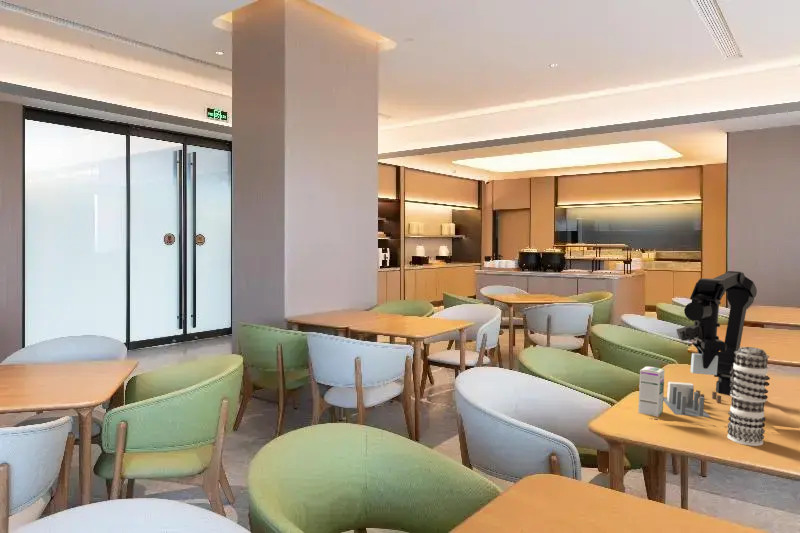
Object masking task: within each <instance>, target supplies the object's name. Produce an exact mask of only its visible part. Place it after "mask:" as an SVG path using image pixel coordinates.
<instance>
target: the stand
mask: <svg viewBox="0 0 800 533" xmlns="http://www.w3.org/2000/svg"><path fill="white" fill-rule="evenodd" d="M695 392H698V393H699V397H704V398H705V394H703V393H701V390H697V389H696V391H695ZM711 399H712V400H716V402H715V403H717V404H721V403H722V396H721V395H718V393H717V392H716V391H712V392H711Z"/></svg>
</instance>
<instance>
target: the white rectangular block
mask: <svg viewBox="0 0 800 533" xmlns="http://www.w3.org/2000/svg"><path fill="white" fill-rule="evenodd" d="M672 386H676V387H677V391H681V395H685V396H686V403H688V398H689V387H690V388H693V389H694V390H695V388H694V387H695V386H694V384H693V383H691V382H678V381H676V382H675V381H668V382H667V391H666V393H667V395H666V397H667V400H668V401H669V402H671V398H672ZM677 391H676V394H677Z"/></svg>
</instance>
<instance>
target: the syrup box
mask: <svg viewBox="0 0 800 533" xmlns="http://www.w3.org/2000/svg"><path fill="white" fill-rule="evenodd" d="M665 370H666V369H664V368H660V367H656V366H644V367H643V368H641V369H640V370H639V384H638V385H639V388H638V393H639V394H638V409H637V410H638V413H640V414H644V415H647V416H652V417H657V418H653V419H654V420H653V421H659V416H661V415H662V414H663V411H664V401H663V397H664V391H665V388H664V387H665ZM649 420H652V418H650V417H649Z"/></svg>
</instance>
